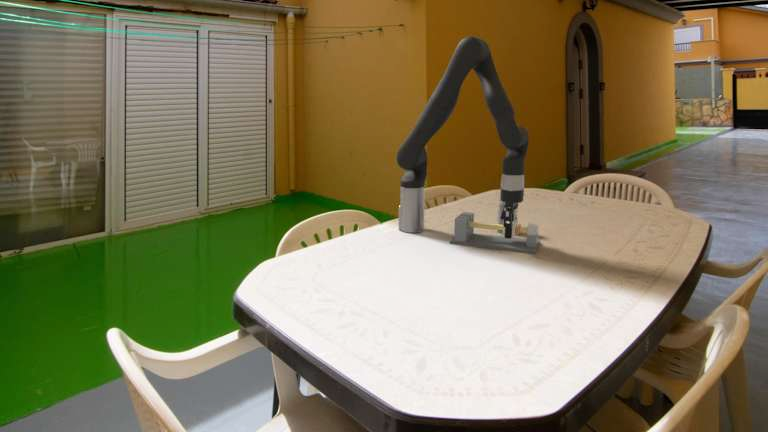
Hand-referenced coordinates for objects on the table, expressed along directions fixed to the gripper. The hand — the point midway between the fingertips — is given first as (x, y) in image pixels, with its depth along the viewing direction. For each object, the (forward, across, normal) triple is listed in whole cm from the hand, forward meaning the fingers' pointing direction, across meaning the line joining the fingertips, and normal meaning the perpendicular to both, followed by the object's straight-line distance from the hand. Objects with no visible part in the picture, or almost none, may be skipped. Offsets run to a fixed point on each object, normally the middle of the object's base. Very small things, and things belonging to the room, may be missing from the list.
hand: (509, 235), depth 157 cm
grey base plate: (+3, 0, -5) cm, 6 cm away
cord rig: (+2, 0, -5) cm, 5 cm away
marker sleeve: (0, 0, 0) cm, 0 cm away
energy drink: (+4, -16, -5) cm, 17 cm away
